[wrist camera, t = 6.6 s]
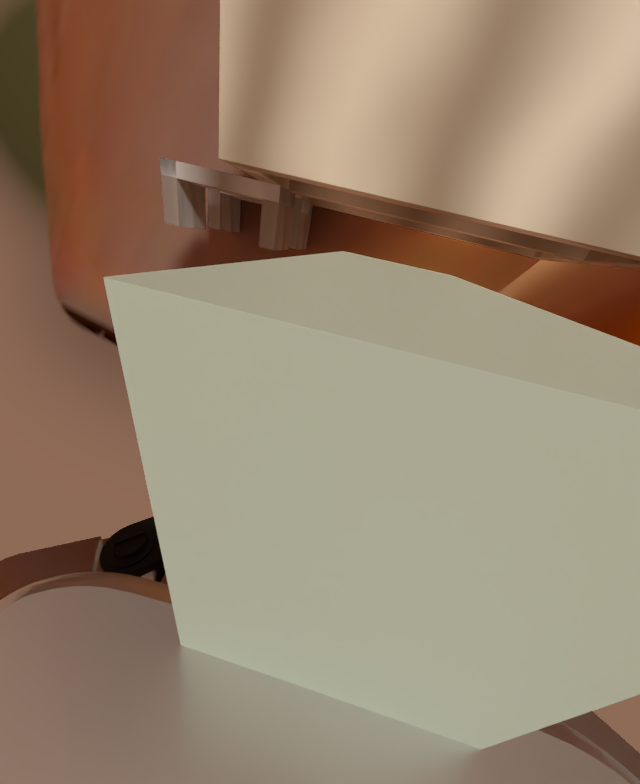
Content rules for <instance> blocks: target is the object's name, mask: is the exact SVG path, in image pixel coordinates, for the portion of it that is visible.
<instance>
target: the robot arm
mask: <svg viewBox="0 0 640 784" xmlns="http://www.w3.org/2000/svg"><path fill="white" fill-rule="evenodd" d="M0 784H640V753H639V752H638V751H636V750H635V749H634V748H633V747H632V746H631V745H630V744H628V743H627V742H626V741H625V740H624V739H623V738H622V737H621V736H620V735H618V734H617V733H616V732H615V731H614V730H613V729H612V728H611V727H610V726H608V725H607V724H606V723H605V722H604V721H603V720H602V719H600V718H599V717H598V716H597V715H596V714H595V713H594V712H593V711H590V712H588V713H585V714H582V715H579V716H576V717H573V718H570V719H567V720H565V721H562V722H559V723H556V724H553V725H550V726H547V727H544V728H542V729H539V730H536V731H533V732H530V733H527V734H524V735H521V736H519V737H516V738H513V739H510V740H507V741H504V742H501V743H499V744H496V745H493V746H490V747H487V748H484V749H478V748H475V747H472V746H470V745H467V744H464V743H461V742H458V741H455V740H453V739H450V738H447V737H444V736H441V735H438V734H435V733H433V732H430V731H427V730H424V729H421V728H418V727H415V726H413V725H410V724H407V723H404V722H401V721H398V720H395V719H393V718H390V717H387V716H384V715H381V714H378V713H375V712H373V711H370V710H367V709H364V708H361V707H358V706H356V705H353V704H350V703H347V702H344V701H341V700H338V699H336V698H333V697H330V696H327V695H324V694H321V693H318V692H315V691H313V690H310V689H307V688H304V687H301V686H298V685H295V684H292V683H290V682H287V681H284V680H281V679H278V678H275V677H272V676H269V675H266V674H264V673H261V672H258V671H255V670H252V669H249V668H246V667H243V666H240V665H238V664H235V663H232V662H229V661H226V660H223V659H220V658H217V657H214V656H212V655H209V654H206V653H203V652H200V651H197V650H194V649H191V648H188V647H186V646H183V645H181V644H180V640H179V635H178V630H177V625H176V621H175V616H174V611H173V606H172V601H171V597H170V592H169V587H168V582H167V578H166V573H165V568H164V563H163V559H162V554H161V549H160V544H159V540H158V535H157V530H156V525H155V521H154V517H151V518H148V519H145V520H142V521H140V522H137V523H134V524H131V525H129V526H127V527H125V528H122V529H121V530H119V531H118V532H116V533H115V534H114V535H112V536H111V537H110V538H106V539H101V537H100V536H99V537H94V538H90V539H85V540H80V541H76V542H71V543H67V544H62V545H57V546H53V547H48V548H44V549H39V550H34V551H30V552H25V553H20V554H17V555H14V556H11V557H8V558H5V559H3V560H1V561H0Z"/></svg>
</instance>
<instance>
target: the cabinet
mask: <svg viewBox="0 0 640 784" xmlns="http://www.w3.org/2000/svg"><path fill="white" fill-rule="evenodd" d="M219 159H221V160H223V161H224V162H226V163H228V164H230V165H232V166H234V167H236V168H237V169H239V170H241V171H243V172H245V173H247V174H249V175H250V176H252V177H254V178H256V179H258V180H254V179H250V178H246V177H242V176H238V175H233V174H229V173H225V172H221V171H216V170H212V169H208V168H204V167H199V166H195V165H191V164H187V163H182V162H178V161H174V160H170V159H166V158H161V157H160V167H161V180H162V192H163V205H164V218H165V223H167V224H171V225H175V226H179V227H188V228H199V229H206V212H205V188H208V228H212V229H216V230H220V231H230V232H240V213H241V200H245V201H249V202H253V203H258V204H262V210H261V223H260V236H259V247H261V248H265V249H269V250H273V251H276V250H288V248H291V249H295V250H298V249H306V248H307V242H308V236H309V230H310V223H311V217H312V211H313V205H314V206H318V207H322V208H326V209H331V210H335V211H339V212H343V213H347V214H351V215H356V216H360V217H364V218H368V219H372V220H377V221H381V222H385V223H389V224H393V225H397V226H402V227H406V228H410V229H414V230H418V231H422V232H427V233H431V234H435V235H439V236H443V237H448V238H452V239H456V240H460V241H464V242H468V243H473V244H477V245H481V246H485V247H489V248H494V249H498V250H502V251H506V252H510V253H514V254H519V255H523V256H527V257H531V258H535V259H539V260H548V261H559V262H571V263H582V264H593V265H605V266H616V267H628V268H639V269H640V0H220V82H219ZM259 180H260V181H259Z"/></svg>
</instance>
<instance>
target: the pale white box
mask: <svg viewBox="0 0 640 784" xmlns="http://www.w3.org/2000/svg"><path fill="white" fill-rule="evenodd" d="M103 278H104V283H105V288H106V293H107V297H108V302H109V307H110V312H111V316H112V321H113V326H114V331H115V335H116V340H117V345H118V350H119V354H120V359H121V364H122V368H123V373H124V378H125V382H126V387H127V392H128V397H129V402H130V406H131V411H132V416H133V421H134V425H135V430H136V435H137V440H138V445H139V449H140V454H141V458H142V464H143V468H144V473H145V478H146V483H147V487H148V492H149V497H150V501H151V506H152V511H153V516H154V521H155V525H156V530H157V535H158V540H159V544H160V549H161V554H162V559H163V563H164V568H165V573H166V578H167V582H168V587H169V592H170V597H171V601H172V606H173V611H174V616H175V621H176V625H177V630H178V635H179V640H180V644H181V645H183V646H186V647H188V648H191V649H194V650H197V651H200V652H203V653H206V654H209V655H212V656H214V657H217V658H220V659H223V660H226V661H229V662H232V663H235V664H238V665H240V666H243V667H246V668H249V669H252V670H255V671H258V672H261V673H264V674H266V675H269V676H272V677H275V678H278V679H281V680H284V681H287V682H290V683H292V684H295V685H298V686H301V687H304V688H307V689H310V690H313V691H315V692H318V693H321V694H324V695H327V696H330V697H333V698H336V699H338V700H341V701H344V702H347V703H350V704H353V705H356V706H358V707H361V708H364V709H367V710H370V711H373V712H375V713H378V714H381V715H384V716H387V717H390V718H393V719H395V720H398V721H401V722H404V723H407V724H410V725H413V726H415V727H418V728H421V729H424V730H427V731H430V732H433V733H435V734H438V735H441V736H444V737H447V738H450V739H453V740H455V741H458V742H461V743H464V744H467V745H470V746H472V747H475V748H478V749H484V748H487V747H490V746H493V745H496V744H499V743H501V742H504V741H507V740H510V739H513V738H516V737H519V736H521V735H524V734H527V733H530V732H533V731H536V730H539V729H542V728H544V727H547V726H550V725H553V724H556V723H559V722H562V721H565V720H567V719H570V718H573V717H576V716H579V715H582V714H585V713H588V712H590V711H593V710H596V709H599V708H602V707H605V706H607V705H610V704H613V703H616V702H619V701H622V700H625V699H627V698H631V697H633V696H636V695H639V694H640V346H638V345H635V344H632V343H630V342H627V341H625V340H622V339H619V338H617V337H614V336H611V335H609V334H606V333H603V332H601V331H598V330H595V329H593V328H590V327H588V326H585V325H582V324H580V323H577V322H574V321H572V320H569V319H566V318H564V317H561V316H558V315H556V314H553V313H551V312H548V311H545V310H543V309H540V308H537V307H535V306H532V305H529V304H527V303H524V302H521V301H519V300H516V299H513V298H511V297H508V296H506V295H503V294H500V293H498V292H495V291H492V290H490V289H487V288H484V287H482V286H479V285H476V284H474V283H471V282H469V281H466V280H463V279H461V278H458V277H455V276H453V275H449V274H445V273H440V272H436V271H431V270H427V269H422V268H418V267H413V266H409V265H404V264H400V263H395V262H391V261H386V260H382V259H377V258H373V257H368V256H364V255H359V254H355V253H350V252H346V251H339V252H330V253H320V254H311V255H302V256H293V257H284V258H274V259H265V260H256V261H247V262H237V263H228V264H219V265H210V266H201V267H191V268H182V269H173V270H164V271H155V272H145V273H136V274H127V275H118V276H108V277H103Z"/></svg>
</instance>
